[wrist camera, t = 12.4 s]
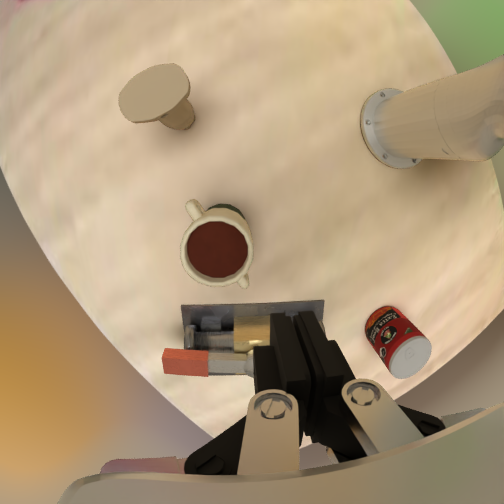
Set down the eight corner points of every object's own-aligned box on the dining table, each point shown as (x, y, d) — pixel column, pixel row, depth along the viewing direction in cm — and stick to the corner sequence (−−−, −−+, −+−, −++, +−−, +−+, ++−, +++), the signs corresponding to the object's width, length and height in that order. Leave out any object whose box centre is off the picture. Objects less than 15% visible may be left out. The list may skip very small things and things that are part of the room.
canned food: (385, 296, 44) (418, 329, 33) (407, 318, 45) (439, 350, 35) (355, 329, 45) (381, 368, 35) (379, 348, 47) (405, 385, 36)
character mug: (179, 207, 38) (152, 226, 25) (222, 178, 37) (215, 183, 25) (223, 270, 41) (218, 314, 28) (265, 243, 40) (278, 278, 27)
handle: (212, 124, 35) (196, 97, 20) (169, 144, 35) (129, 132, 21) (198, 94, 33) (176, 54, 19) (156, 115, 34) (112, 89, 19)
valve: (323, 299, 43) (337, 322, 36) (315, 368, 47) (325, 394, 40) (181, 304, 42) (172, 328, 35) (192, 373, 46) (187, 401, 39)
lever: (270, 348, 36) (272, 359, 34) (268, 368, 38) (270, 379, 35) (165, 344, 36) (161, 355, 33) (167, 364, 37) (164, 375, 34)
